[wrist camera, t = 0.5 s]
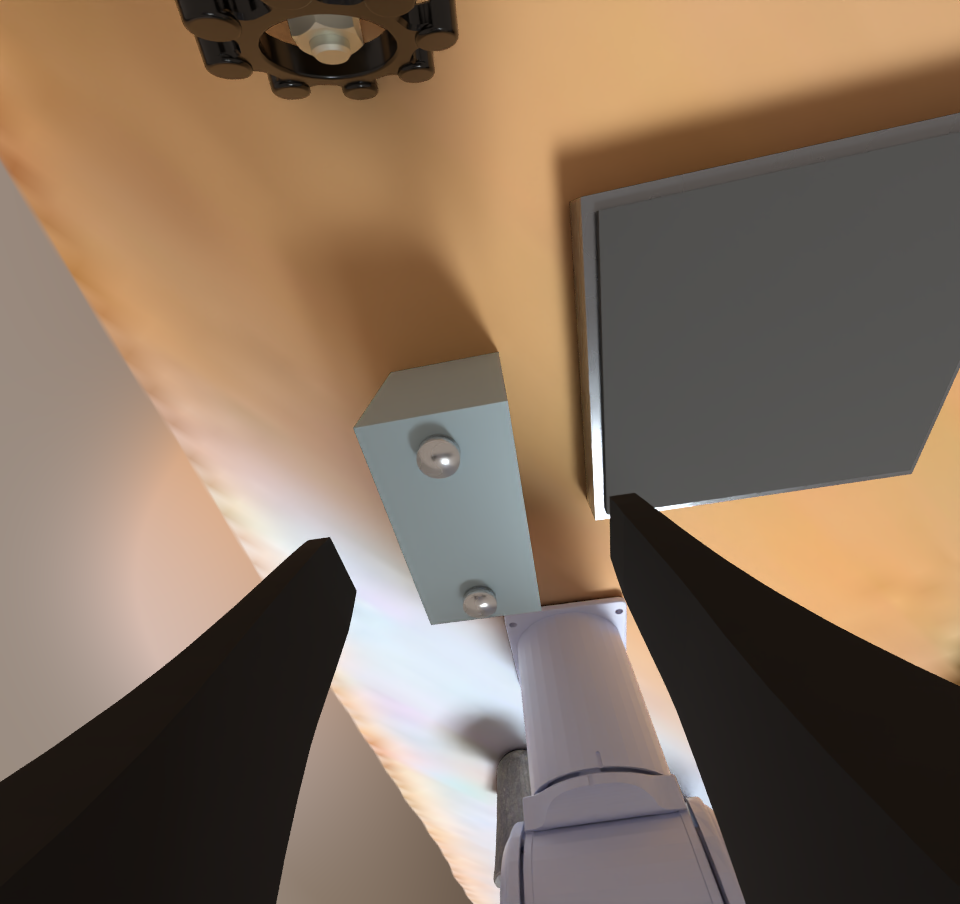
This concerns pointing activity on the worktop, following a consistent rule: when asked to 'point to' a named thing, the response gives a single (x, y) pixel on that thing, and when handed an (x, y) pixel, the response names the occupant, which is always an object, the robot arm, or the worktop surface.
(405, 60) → the valve
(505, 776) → the pipe
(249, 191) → the worktop surface
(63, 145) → the worktop surface
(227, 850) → the robot arm
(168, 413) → the worktop surface
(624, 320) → the shallow gray tray
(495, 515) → the block
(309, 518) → the worktop surface
